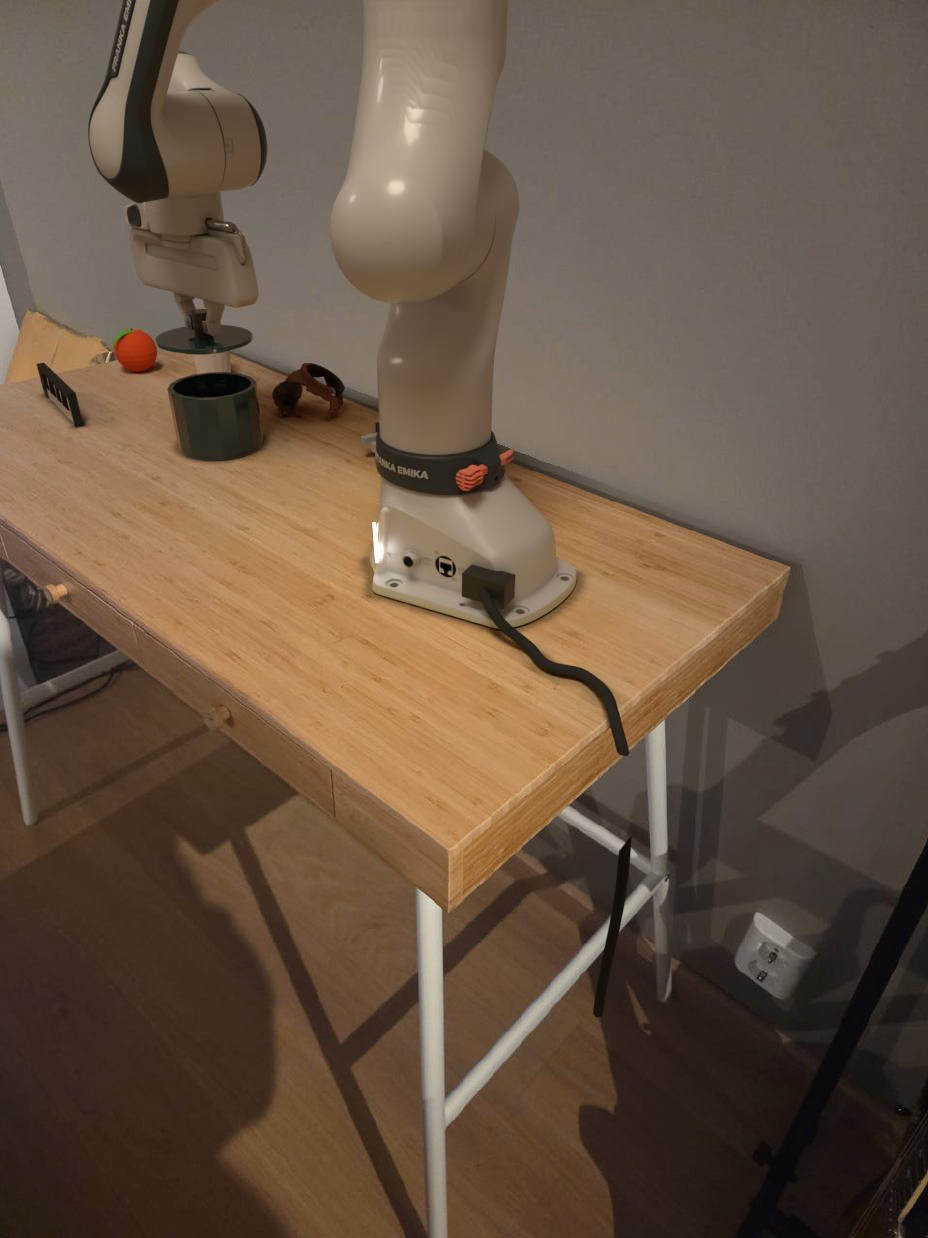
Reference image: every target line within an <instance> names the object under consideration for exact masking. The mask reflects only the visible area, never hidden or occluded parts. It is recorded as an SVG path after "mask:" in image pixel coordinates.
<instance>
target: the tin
mask: <svg viewBox="0 0 928 1238" xmlns="http://www.w3.org/2000/svg"><path fill="white" fill-rule="evenodd" d="M257 383H258V382H257V381H256V380H255V379H254V378H253V377H252V376H249V375H246V374H243V373H240V372H232V371H231V372H209V373H201V374H196V373H195V374H191V375H187V376H183V377H180V378H178V379H176V380H174V381H173V382H170V383H169V385H168V386H167V395H168V401H169V406H170V411H171V416H172V421H173V427H174V432H175V438H176V443H177V446H178V449H179V451H180V452H179V453H181V455H183V456H185V457H187V458H190V459H192V460H193V459H194V460H198V461H206V462H218V461H219V462H220V461H230V460H236V459H239V458H244V457H247V456H249V455H251V454H253V453H256V452H257V451H259V450H260V449H261V448H262V446H263V444H264V433H263V425H262V414H261V409H260V408H261V407H260V399H259V392H258V384H257Z"/></svg>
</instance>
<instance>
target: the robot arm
mask: <svg viewBox="0 0 928 1238" xmlns="http://www.w3.org/2000/svg"><path fill="white" fill-rule="evenodd" d="M221 2H224V0H122V3H121V8H120V12H119V17H118V21H117V26H116V29H115V34H114V38H113V42H112V47H111V52H110V57H109V61H108V65H107V69H106V73H105V76H104V80H103V82H102V85H101V88H100V90H99V92H98V95H97V97H96V98H95V101H94V103H93V105H92V108H91V112H90V114H89V119H88V127H87V138H88V144H89V145H88V146H89V151H90V155H91V158H92V161H93V163H94V166H95V168H96V170H97V172H98V173H99V175H100V176H101V177H102V179H104V180H105V182H106V183H108V185H110V186H111V187H112V188H113V189H114V190H116V192H118V193H119V194H121V195H122V196H124V197H126V198H127V199H129V200H130V201H132V203H130V204H128V205H126V206H124V207H123V210H122V213H123V214H122V215H123V218H124V222H125V224H126V225H127V226H128V227H130V231H129V241H130V242H129V243H130V246H131V247H130V248H131V252H132V258H133V262H134V267H135V271H136V273H137V277H138V278H139V279H140V281H141V283H142V284H143V285H144V286H147V287H151V288H154V289H159V290H162V291H168V292H170V293H173V298H174V302H175V303H176V306H177V308H178V309H179V311H180V313H181V315H182V317H183V321H184V327H186V328H187V329H189V330H194V328H193V322H192V316H191V311H192V310H195V309H197V307H196V306H195V303H194V300H195V299H199V300H202V302H203V309H207V315H206V320H202V325H203V332H204V333H205V334H207V335H211V336H216V335H220V334H221V332H222V329H221V325H222V323H221V320H222V317H223V315H224V311H225V306H226V307H230V308H235V309H238V308H244V307H248V306H252V305H255V304H256V303H257V301H258V298H259V285H258V281H257V280H258V279H257V274H256V270H255V265H254V260H253V257H252V252H251V249H250V247H249V245H248V243H247V240H246V236H245V235H244V234H243V233H242V231H241V230H240V229H239V228H238V227H237V225H236V224H235V222H232V221H225V217H224V208H223V202H222V201H223V200H222V194H221V193H222V192H228V191H229V192H230V191H231V192H232V191H238V190H242V189H245V188H248V187H253V186H254V185H255V184H256V183H257V182H258V181H259V180H260V178H261V176H262V174H263V173H264V170H265V167H266V163H267V160H268V159H267V158H268V142H267V141H268V139H267V134H266V133H267V132H266V129H265V125H264V122H263V120H262V118H261V117H260V115H259V112H258V111H257V110H256V108H255V107H254V105H253V104H252V103H251V102H250V101H249V100H248V99H247V98H246V97H245V96H243V95H242V94H241V93H236V92H233V91H230V90H229V89H227V88H225V87H223V86H221V85H220V84H219V83H216V82H215V81H214V80H212V79H211V78H210V77H209V76H208V75H206V74H205V72H204V69H203V68H202V66H201V63H200V62H199V60H198V58H197V57H195V56H194V55H192V54H191V53H187V52H185V51H180V48H181V44H182V41H183V38H184V36H185V34H186V32H187V30H188V29H189V27H190V26H191V24H192V23H193V22H194V21H195V20H196V19H197V18H198V17H199V16H200V15H202V14H203V13H204V12H206V11H207V10H209V9H211V8H212V7H213V6H215V5H217V4H219V3H221ZM361 2H362V5H361V6H362V61H361V62H362V63H361V77H360V85H359V92H358V100H357V107H356V114H355V120H354V128H353V134H352V141H351V148H350V154H349V159H348V160H349V162H348V166H347V171H346V175H345V178H344V181H343V182H342V183H343V184H342V186H341V188H340V190H339V192H338V194H337V196H336V198H335V200H334V203H333V206H332V209H331V213H330V219H329V240H330V245H331V250H332V253H333V256H334V259H335V261H336V263H337V265H338V267H339V269H340V271H341V272H342V274H343V275H344V277H345V278H346V279H347V281H348V282H349V283H350V284H351V285H352V287H354V288H355V289H356V290H357V291H359V292H360V293H361V294H363V295H365V296H367V297H368V298H370V299H373V300H374V301H375V300H376V301H378V302H382V303H387V304H388V303H389V310H388V313H387V320H386V322H385V327H384V331H383V335H382V337H381V339H380V342H379V345H378V348H377V353H376V379H377V381H376V382H377V397H378V398H377V402H378V405H377V406H378V422H379V427H380V430H379V431H378V433H377V435H376V450H375V453H374V455H375V456H374V457H375V462H376V471H377V473H378V475H380V488H379V489H380V490H379V501H378V504H379V505H378V514H377V522H376V521H375V522H374V521H373V522H372V532H373V533H372V534H373V545H372V549H371V552H370V555H369V564H370V567H371V569H372V571H373V573H374V574H373V576H372V585H371V586H372V587H371V589H372V592H373V593H375V594H377V595H379V596H382V597H387V598H390V599H392V600H396V601H400V602H404V603H407V604H410V605H413V606H417V607H420V608H424V609H427V610H431V611H434V612H438V613H441V614H445V615H447V616H451V617H455V618H458V619H461V620H464V621H468V622H471V623H475V624H478V625H482V626H485V627H489V628H493V629H497V630H500V631H501V632H502V633H503V634H504V635H505V636H506V637H508V638H509V639H510V640H511V641H513V642H514V643H515V644H517V645H518V646H519V647H520V648H521V649H522V650H524V651H525V652H526V653H527V654H528V655H529V657H530V658H531V659H532V660H533V662H534V663H535V664H536V665H537V666H538V667H540V668H541V669H543V670H545V671H547V672H549V673H551V674H555V675H560V676H565V677H571V678H575V679H579V680H581V681H583V682H584V683H585V684H586V685H588V686H589V687H590V688H592V689H593V690H594V691H595V692H596V694H598V696H599V697H600V698H601V701H602V702H603V704H604V707H605V711H606V714H607V719H608V723H609V727H610V731H611V734H612V738H613V741H614V745H615V750H616V753H617V754H618V755H620V756H621V757H628V756H629V755H630V749H629V748H630V747H629V745H628V741H627V738H626V733H625V729H624V727H623V722H622V719H621V714H620V711H619V706H618V704H617V701H616V698H615V695H614V694H613V692H612V691H611V689H610V688H609V686H608V685H607V684H606V683H605V682H603V680H601V679H600V678H599V677H598V676H596V675H595V674H593V673H592V672H591V671H589V670H587V669H585V668H582V667H579V666H576V665H571V664H565V663H559V662H556V661H553V660H550V659H548V658H547V657H546V656H545V655H544V654H543V653H542V651H541V650H540V649H539V648H538V647H537V646H536V644H535V643H533V642H532V641H531V640H530V639H529V638H528V637H526V636H525V635H524V634H522V633H521V632H520V631H519V630H518V629H516V627H520V626H523V625H527V624H529V623H531V622H533V621H536V620H538V619H540V618H542V617H543V616H545V615H546V614H548V613H549V612H551V611H552V610H554V609H555V608H556V607H558V606H559V605H560V604H561V603H563V602H564V601H565V600H566V599H567V598H568V597H569V596H570V595H571V593H572V592H573V591H574V588H575V586H576V584H577V567H576V566H575V565H573V564H572V563H570V562H569V561H567V560H564V559H563V558H560V556H557V543H556V536H555V531H554V528H553V526H552V524H551V522H550V520H549V519H548V518H547V517H546V516H544V515H543V514H542V512H540V511H539V510H538V508H537V507H536V506H535V505H534V504H533V503H532V502H531V500H529V499H528V497H527V496H525V494H524V493H523V492H522V491H521V490H520V489H519V487H517V486H516V485H515V483H513V481H512V480H511V479H510V478H509V477H508V476H507V475H506V467H505V465H506V464H509V463H510V462H511V461H513V460H514V457H511V456H512V455H513V453H514V452H515V449H514V448H511V449H508V450H506V451H505V452H503V453H501V451H500V448H499V444H498V441H497V437H496V436H495V433H494V432H493V429H492V426H493V423H492V422H493V420H492V419H493V397H494V395H493V393H494V373H495V371H494V368H495V356H496V347H497V339H498V334H499V328H500V322H501V317H502V312H503V306H504V300H505V294H506V289H507V288H506V287H507V282H508V275H509V267H510V260H511V252H512V245H513V238H514V233H515V232H516V231H515V230H516V228H517V227H516V226H517V223H518V219H519V213H520V196H519V190H518V186H517V183H516V180H515V178H514V176H513V174H512V173H511V171H510V170H509V168H508V167H507V165H506V164H505V163H504V162H503V161H501V160H500V159H499V158H498V157H497V156H496V155H494V153H493V154H492V153H491V152H490V151H488V150H487V149H485V147H486V142H487V137H488V130H489V124H490V119H491V114H492V109H493V104H494V100H495V94H496V91H497V86H498V83H499V80H500V77H501V74H502V72H503V69H504V66H505V62H506V56H507V37H508V33H507V32H508V14H509V13H508V10H509V0H362V1H361ZM376 523H377V524H376ZM632 837H633V835H630V836H629V837H628V838H627V840H626V841H625V843H624V844H622V846H621V847H620V849H619V850H618V858H617V868H616V869H617V870H616V878H615V886H614V894H613V900H612V907H611V913H610V918H609V923H608V928H607V934H606V939H605V943H604V948H603V953H602V958H601V962H600V968H599V972H598V976H597V978H598V979H597V983H596V988H595V995H594V1002H593V1008H592V1015H593V1016H594V1017H595V1018H598V1019H599V1018H602V1016H603V1015H604V1009H605V1003H606V997H607V992H608V986H609V981H610V976H611V971H612V967H613V961H614V957H615V953H616V948H617V944H618V940H619V939H618V938H619V935H620V934H619V933H620V930H621V924H622V920H623V915H624V910H625V904H626V897H627V890H628V884H629V876H630V865H631V854H632Z"/></svg>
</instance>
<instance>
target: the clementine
mask: <svg viewBox="0 0 928 1238" xmlns="http://www.w3.org/2000/svg"><path fill="white" fill-rule="evenodd" d="M112 350H113V352H114V357H115V359H116V360H117V362H118V363H119V364H120V365H121V366H122V367H124V368H125V369H127V370H129V371H132V372H143V371H146V370H148V369H150V368H151V367H152V366H154V364H155V362H156V361H157V358H158V348H157V345H156V341H155V340H154V339H153V338H152V336H150V334H148V333H147V332H145V331H143V330H141V329H137V328H130V329H125V330H123V331H120V333H118V334H117V335H116V336H115V338H114V340H113V343H112Z"/></svg>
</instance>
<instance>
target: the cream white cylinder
mask: <svg viewBox="0 0 928 1238" xmlns="http://www.w3.org/2000/svg"><path fill="white" fill-rule="evenodd" d="M190 355H191V359H192V362H193V366H194V370H195V374H201V373H209V372H231V373H232V366H231V363H232V362H231V350H230V351H226V352H222V353H216V354H205V355H194V354H190Z"/></svg>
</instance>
